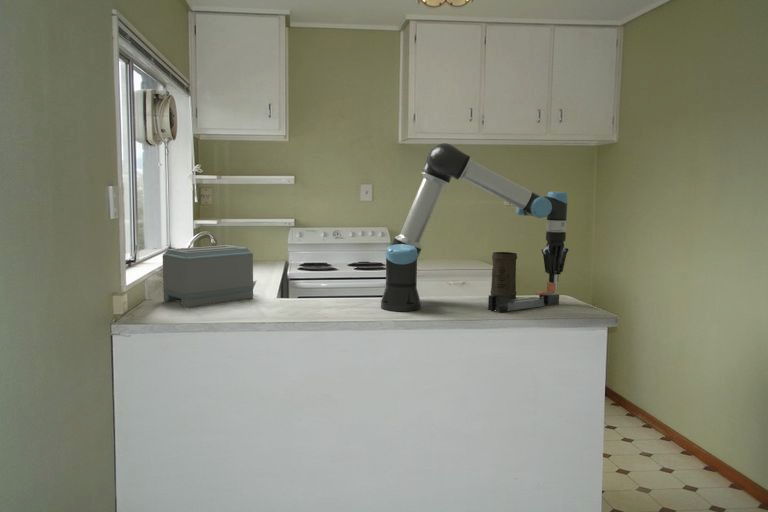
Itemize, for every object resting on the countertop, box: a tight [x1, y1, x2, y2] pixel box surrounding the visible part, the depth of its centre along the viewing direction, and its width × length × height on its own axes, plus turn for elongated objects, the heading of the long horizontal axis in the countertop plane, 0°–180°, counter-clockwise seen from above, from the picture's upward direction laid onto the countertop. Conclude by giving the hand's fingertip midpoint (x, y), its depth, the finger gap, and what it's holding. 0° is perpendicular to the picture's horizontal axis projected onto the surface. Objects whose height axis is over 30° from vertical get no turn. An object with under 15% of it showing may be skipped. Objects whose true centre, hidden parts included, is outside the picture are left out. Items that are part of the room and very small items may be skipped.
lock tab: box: [534, 281, 556, 296], centre depth 248 cm, size 8×3×4 cm, turn 122°
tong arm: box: [495, 296, 545, 313], centre depth 238 cm, size 23×2×5 cm, turn 124°
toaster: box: [162, 244, 254, 309], centre depth 249 cm, size 19×33×20 cm, turn 137°
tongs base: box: [487, 292, 560, 312], centre depth 243 cm, size 32×5×6 cm, turn 122°
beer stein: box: [490, 251, 518, 300], centre depth 257 cm, size 15×11×20 cm
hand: (553, 290), depth 250 cm, fingers closed
